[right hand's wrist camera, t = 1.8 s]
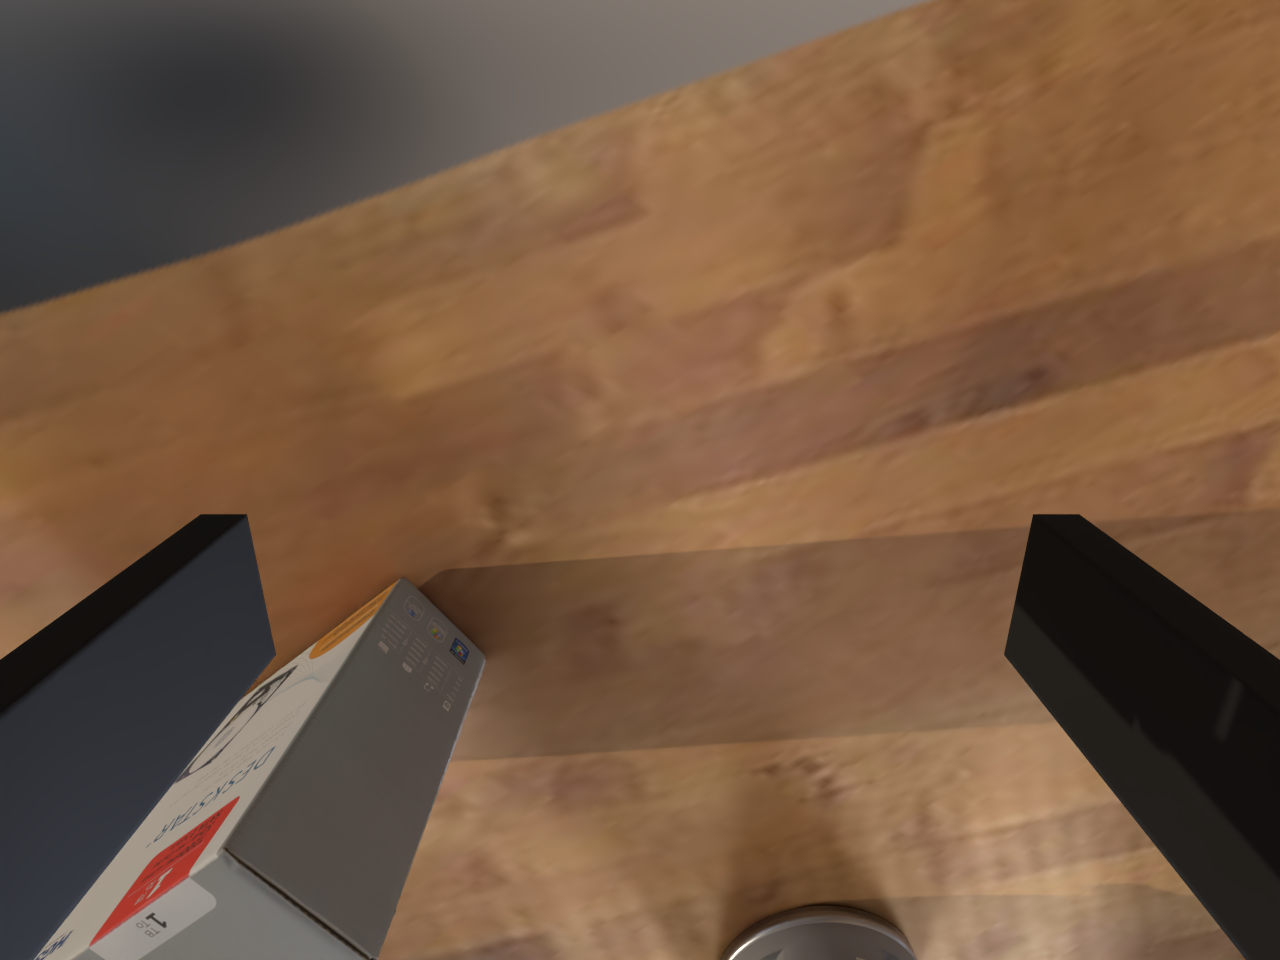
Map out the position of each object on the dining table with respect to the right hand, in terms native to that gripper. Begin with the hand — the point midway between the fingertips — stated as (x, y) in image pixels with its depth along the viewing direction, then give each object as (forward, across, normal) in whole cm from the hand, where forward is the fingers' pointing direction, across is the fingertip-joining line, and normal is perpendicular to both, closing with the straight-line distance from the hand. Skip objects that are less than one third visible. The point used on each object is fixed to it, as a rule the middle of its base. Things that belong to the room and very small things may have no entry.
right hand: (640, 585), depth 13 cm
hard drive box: (+28, +18, +22) cm, 40 cm away
